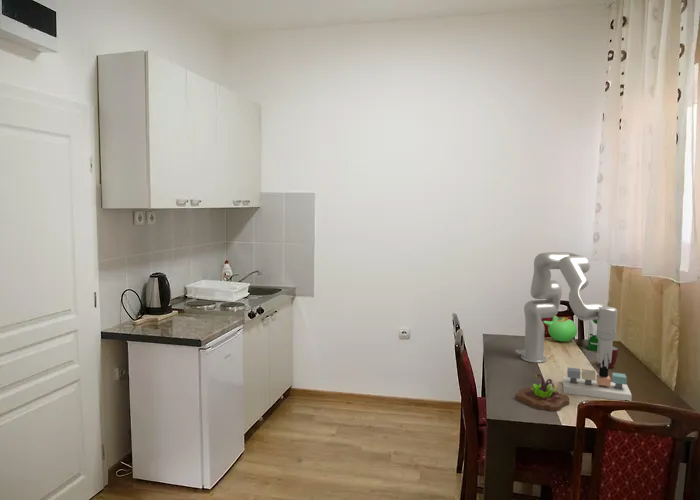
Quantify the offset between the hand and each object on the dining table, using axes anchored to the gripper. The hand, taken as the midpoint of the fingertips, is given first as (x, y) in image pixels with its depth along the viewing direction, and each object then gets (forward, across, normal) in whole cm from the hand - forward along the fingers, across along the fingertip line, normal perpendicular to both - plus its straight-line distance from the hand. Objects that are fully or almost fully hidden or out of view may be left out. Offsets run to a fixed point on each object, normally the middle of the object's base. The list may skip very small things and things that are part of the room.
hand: (603, 376), depth 218 cm
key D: (+4, 0, +6) cm, 8 cm away
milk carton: (+8, -70, +4) cm, 70 cm away
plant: (+8, +19, -25) cm, 32 cm away
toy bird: (+8, -83, -14) cm, 84 cm away
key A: (+4, 0, -12) cm, 13 cm away
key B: (+4, 0, -6) cm, 7 cm away
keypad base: (+7, 0, -3) cm, 8 cm away
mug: (+8, -38, +6) cm, 39 cm away
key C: (+6, 0, 0) cm, 6 cm away
